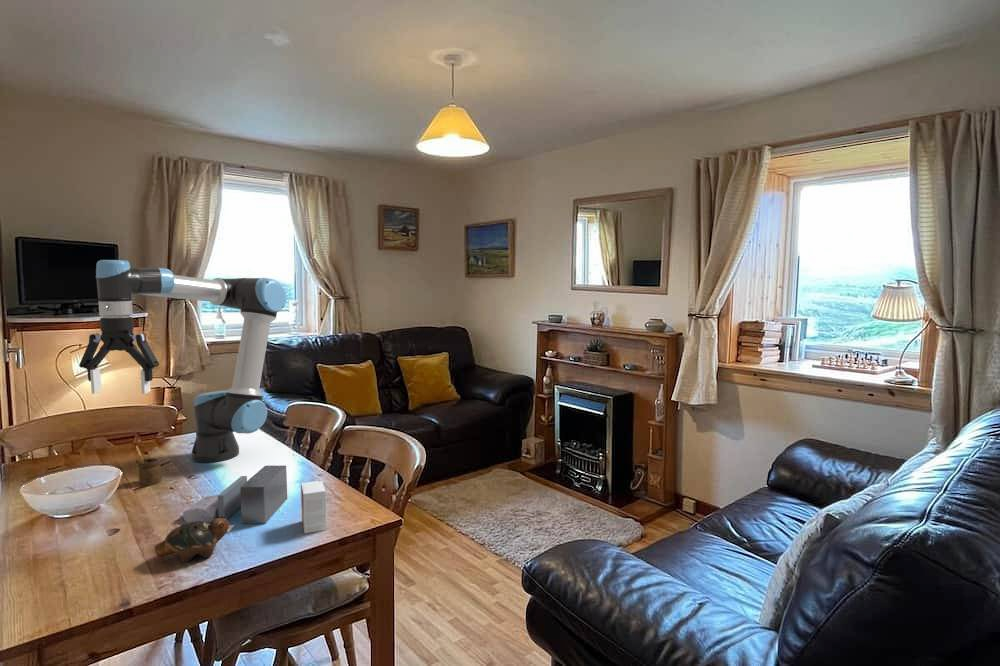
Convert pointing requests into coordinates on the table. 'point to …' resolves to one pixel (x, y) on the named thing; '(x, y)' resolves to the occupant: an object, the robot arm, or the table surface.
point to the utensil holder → (149, 470)
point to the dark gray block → (263, 494)
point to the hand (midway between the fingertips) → (121, 392)
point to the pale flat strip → (230, 528)
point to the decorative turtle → (193, 539)
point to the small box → (313, 506)
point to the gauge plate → (230, 498)
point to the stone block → (203, 510)
